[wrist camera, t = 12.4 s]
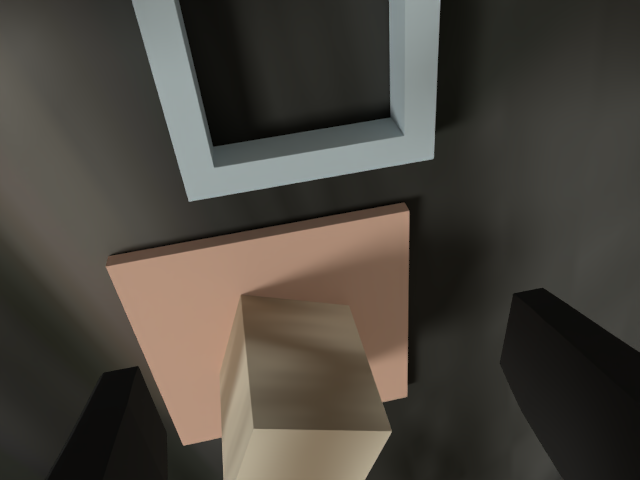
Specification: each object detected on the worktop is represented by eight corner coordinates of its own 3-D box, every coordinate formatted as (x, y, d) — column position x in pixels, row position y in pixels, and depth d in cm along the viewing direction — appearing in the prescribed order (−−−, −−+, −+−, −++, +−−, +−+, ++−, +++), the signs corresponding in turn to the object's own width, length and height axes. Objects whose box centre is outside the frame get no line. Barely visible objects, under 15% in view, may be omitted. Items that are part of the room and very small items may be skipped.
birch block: (219, 373, 22) (224, 512, 18) (240, 294, 20) (253, 428, 15) (318, 379, 24) (348, 508, 19) (348, 305, 21) (392, 431, 17)
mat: (183, 434, 25) (183, 445, 25) (108, 256, 19) (105, 266, 18) (403, 387, 26) (407, 396, 26) (404, 202, 20) (409, 210, 19)
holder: (189, 178, 18) (189, 201, 16) (112, -105, 13) (102, -102, 12) (418, 139, 18) (433, 158, 17) (424, -142, 14) (446, -143, 12)
